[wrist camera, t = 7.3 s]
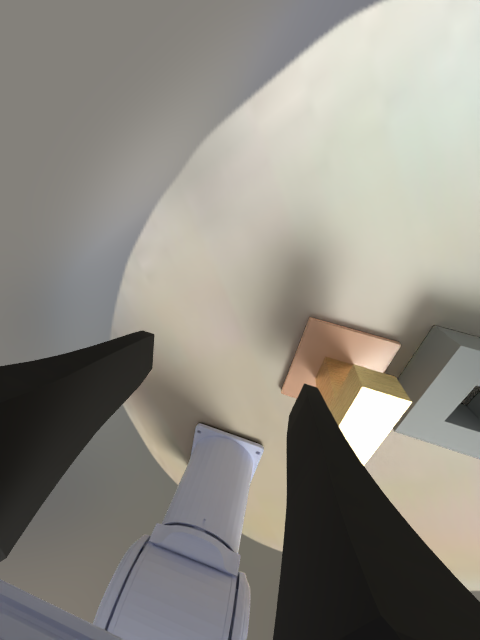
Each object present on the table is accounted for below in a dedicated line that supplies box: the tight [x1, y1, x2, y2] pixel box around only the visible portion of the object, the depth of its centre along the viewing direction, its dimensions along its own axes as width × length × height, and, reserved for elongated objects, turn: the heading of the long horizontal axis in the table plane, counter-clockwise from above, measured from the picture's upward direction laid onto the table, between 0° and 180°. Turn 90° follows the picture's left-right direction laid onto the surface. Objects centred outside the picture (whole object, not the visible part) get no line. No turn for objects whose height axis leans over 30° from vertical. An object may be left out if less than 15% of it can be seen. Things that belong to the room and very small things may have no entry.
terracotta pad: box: [281, 317, 401, 398], centre depth 19 cm, size 8×7×1 cm
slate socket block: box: [393, 325, 480, 459], centre depth 16 cm, size 8×8×3 cm
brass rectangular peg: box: [315, 356, 412, 466], centre depth 16 cm, size 8×2×7 cm, turn 168°
